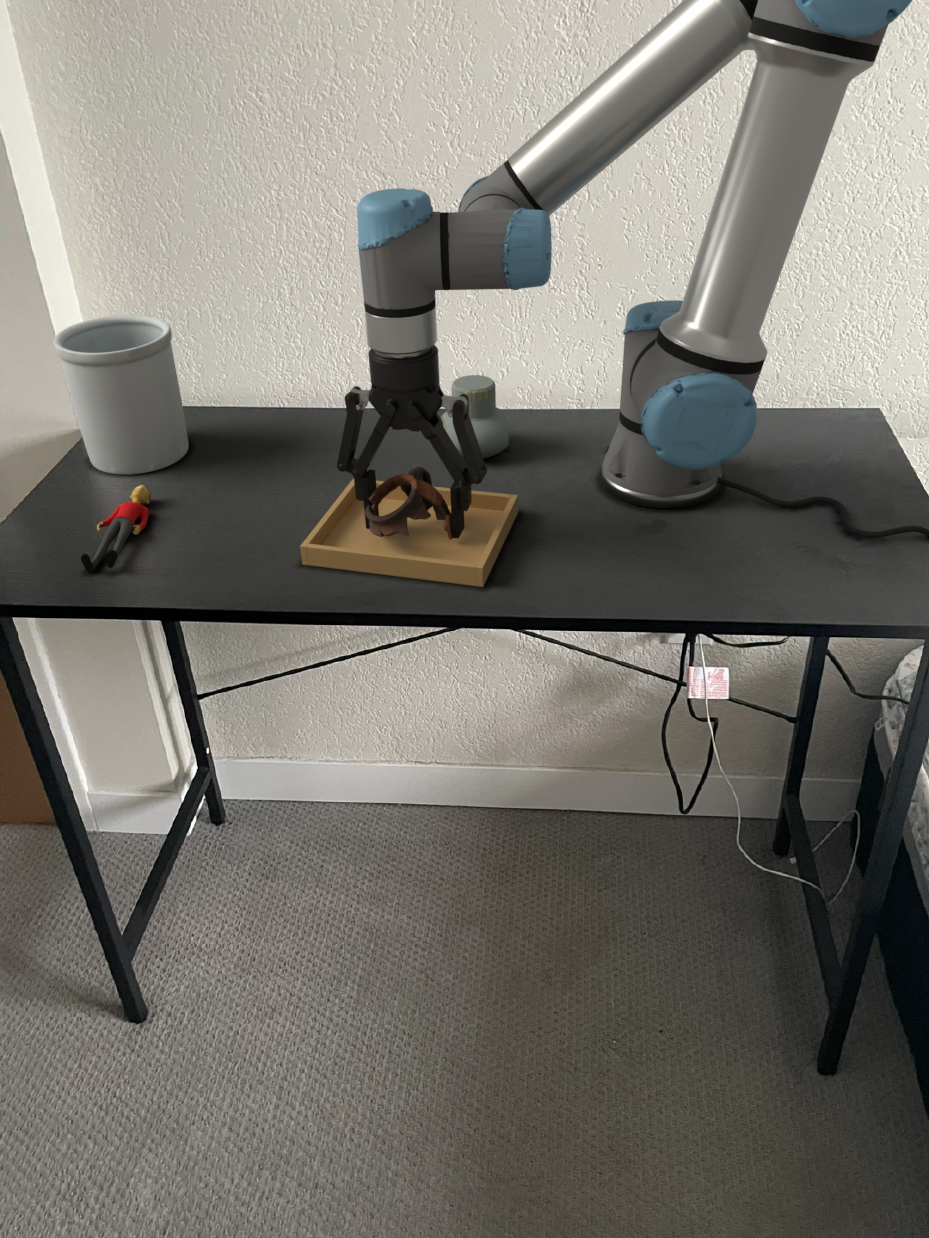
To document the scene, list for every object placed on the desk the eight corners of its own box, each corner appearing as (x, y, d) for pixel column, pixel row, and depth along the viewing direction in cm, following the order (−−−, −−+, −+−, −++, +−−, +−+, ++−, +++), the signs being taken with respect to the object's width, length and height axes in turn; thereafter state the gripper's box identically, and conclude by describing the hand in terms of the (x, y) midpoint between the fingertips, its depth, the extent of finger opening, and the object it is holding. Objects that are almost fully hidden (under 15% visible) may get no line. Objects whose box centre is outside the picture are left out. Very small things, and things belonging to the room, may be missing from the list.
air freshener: (511, 465, 138) (511, 395, 132) (450, 470, 137) (447, 400, 132) (497, 432, 147) (497, 365, 141) (440, 437, 146) (437, 370, 141)
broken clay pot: (459, 555, 118) (421, 509, 112) (390, 580, 122) (350, 536, 116) (465, 485, 125) (430, 438, 120) (400, 511, 129) (364, 466, 124)
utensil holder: (179, 477, 138) (153, 350, 128) (70, 478, 138) (36, 353, 128) (204, 431, 150) (182, 313, 140) (104, 433, 150) (75, 315, 140)
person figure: (75, 540, 115) (126, 468, 130) (73, 568, 118) (123, 494, 132) (120, 552, 116) (166, 479, 131) (117, 580, 118) (162, 505, 133)
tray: (518, 512, 127) (518, 495, 126) (483, 587, 113) (482, 568, 112) (355, 495, 132) (353, 478, 131) (302, 564, 118) (299, 546, 117)
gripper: (513, 340, 110) (514, 522, 122) (317, 329, 115) (337, 504, 127) (497, 365, 104) (500, 554, 116) (291, 352, 109) (315, 533, 122)
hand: (415, 528), depth 122 cm, fingers closed on broken clay pot, 10 cm apart
